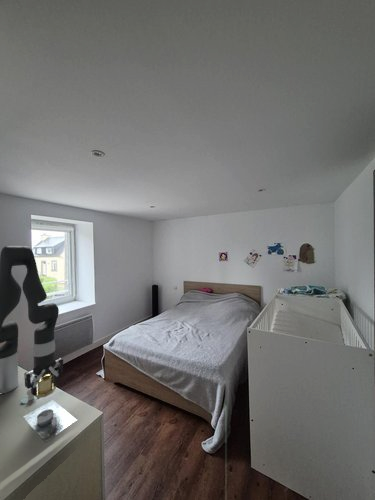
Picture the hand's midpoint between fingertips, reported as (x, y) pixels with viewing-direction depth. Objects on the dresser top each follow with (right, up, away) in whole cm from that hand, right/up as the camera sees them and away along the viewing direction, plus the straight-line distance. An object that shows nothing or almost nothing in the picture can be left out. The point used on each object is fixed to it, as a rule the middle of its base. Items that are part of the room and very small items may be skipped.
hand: (45, 389), depth 86 cm
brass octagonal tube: (0, -1, 0) cm, 1 cm away
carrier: (+6, -9, -5) cm, 12 cm away
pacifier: (-11, -10, +7) cm, 16 cm away
